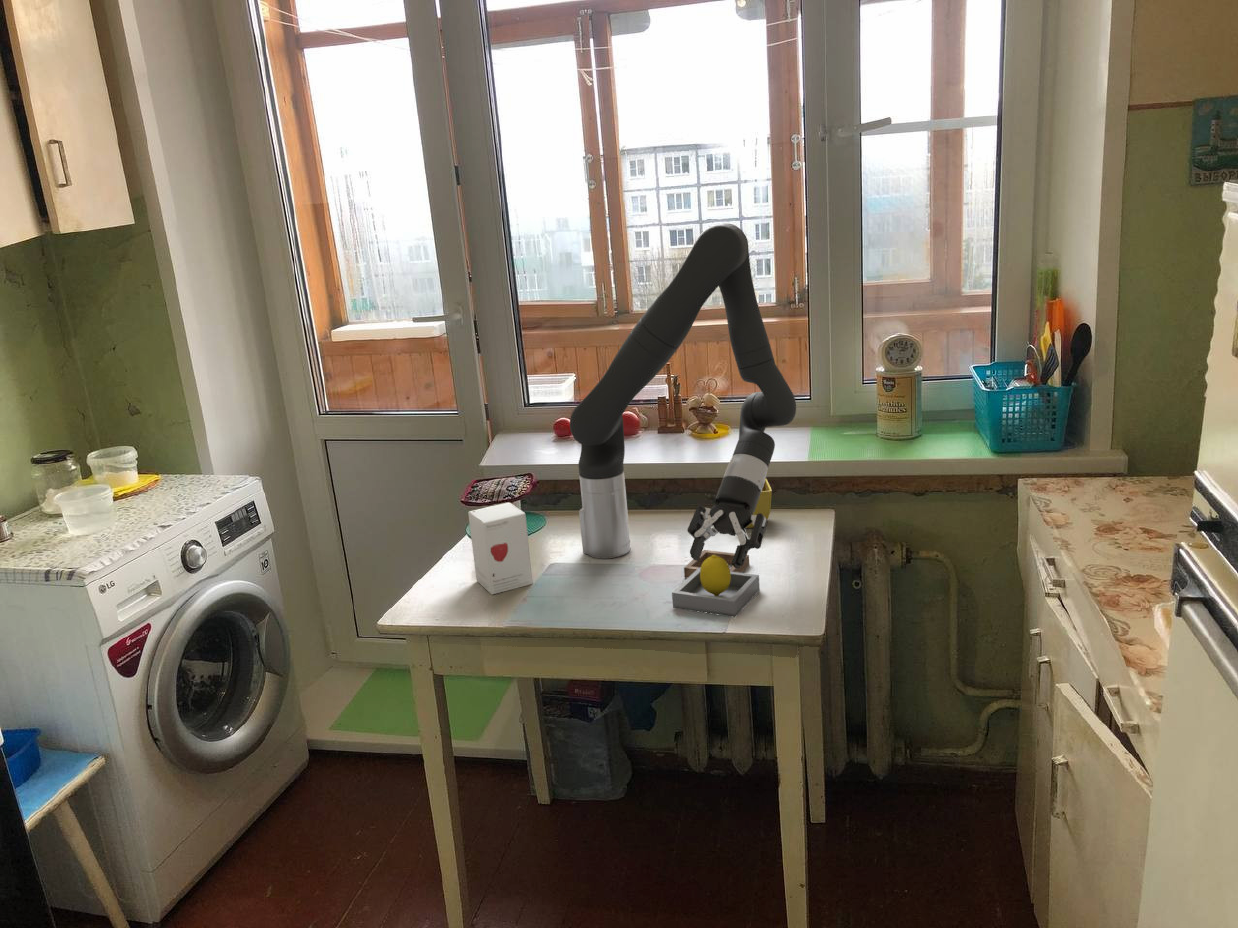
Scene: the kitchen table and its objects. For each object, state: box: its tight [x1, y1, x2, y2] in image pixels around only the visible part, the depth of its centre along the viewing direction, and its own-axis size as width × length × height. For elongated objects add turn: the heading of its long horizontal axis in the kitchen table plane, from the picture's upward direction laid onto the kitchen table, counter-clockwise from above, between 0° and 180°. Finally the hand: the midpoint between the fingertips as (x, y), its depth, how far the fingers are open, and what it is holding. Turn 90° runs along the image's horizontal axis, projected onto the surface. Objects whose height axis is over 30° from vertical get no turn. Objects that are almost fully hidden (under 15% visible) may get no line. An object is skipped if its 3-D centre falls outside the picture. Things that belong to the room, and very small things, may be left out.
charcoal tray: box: [671, 568, 760, 618], centre depth 175 cm, size 12×12×3 cm
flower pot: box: [745, 478, 773, 529], centre depth 210 cm, size 9×9×9 cm
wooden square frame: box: [683, 549, 750, 579], centre depth 187 cm, size 10×10×2 cm
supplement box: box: [467, 502, 534, 596], centre depth 189 cm, size 9×9×15 cm
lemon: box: [700, 555, 731, 596], centre depth 174 cm, size 6×6×8 cm
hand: (714, 562), depth 173 cm, fingers open, 8 cm apart
